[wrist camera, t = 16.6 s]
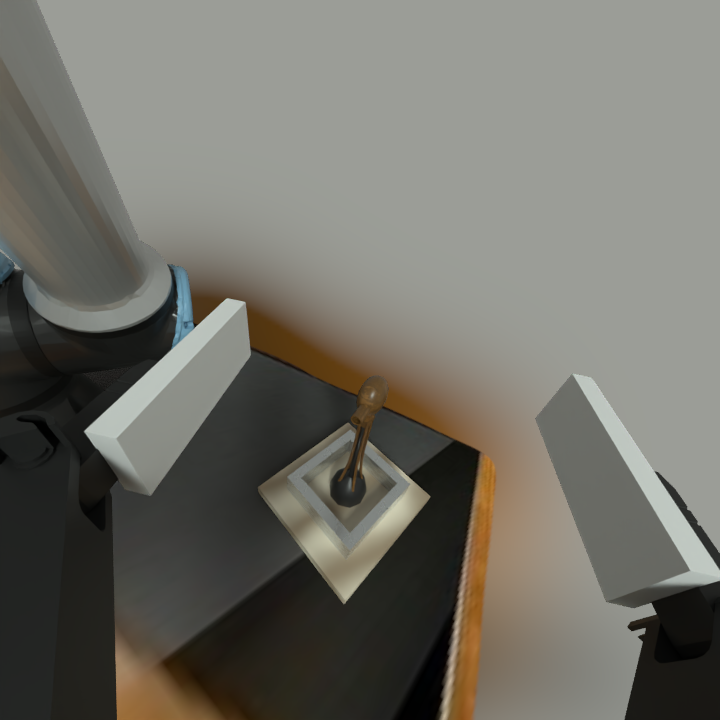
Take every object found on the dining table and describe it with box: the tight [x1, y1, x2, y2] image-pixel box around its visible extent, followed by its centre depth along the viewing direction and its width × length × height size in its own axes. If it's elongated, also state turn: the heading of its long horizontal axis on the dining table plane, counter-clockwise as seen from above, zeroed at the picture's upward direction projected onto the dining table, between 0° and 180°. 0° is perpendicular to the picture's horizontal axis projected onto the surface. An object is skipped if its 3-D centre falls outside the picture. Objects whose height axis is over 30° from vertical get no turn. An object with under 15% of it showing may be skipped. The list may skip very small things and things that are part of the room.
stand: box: [258, 423, 430, 604], centre depth 40 cm, size 16×16×2 cm
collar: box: [287, 430, 410, 560], centre depth 38 cm, size 11×11×3 cm
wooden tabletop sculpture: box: [330, 376, 389, 508], centre depth 33 cm, size 6×5×20 cm
